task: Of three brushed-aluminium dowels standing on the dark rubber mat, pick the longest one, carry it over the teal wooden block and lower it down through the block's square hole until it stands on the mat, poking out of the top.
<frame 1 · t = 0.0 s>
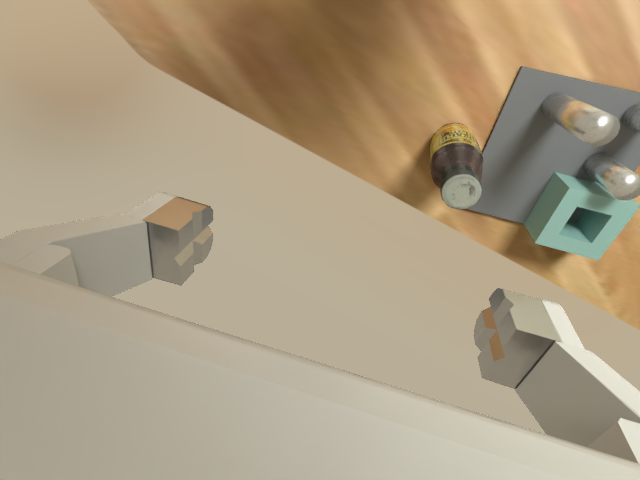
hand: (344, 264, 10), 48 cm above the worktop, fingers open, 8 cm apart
sauce bottle: (450, 141, 53), on the worktop
short pin: (637, 115, 46), point 1 cm above the worktop, touching mat
mat: (555, 160, 51), on the worktop
long pin: (554, 105, 47), point 1 cm above the worktop, touching mat
block: (568, 206, 53), resting on mat
medium pin: (596, 163, 50), point 1 cm above the worktop, touching mat
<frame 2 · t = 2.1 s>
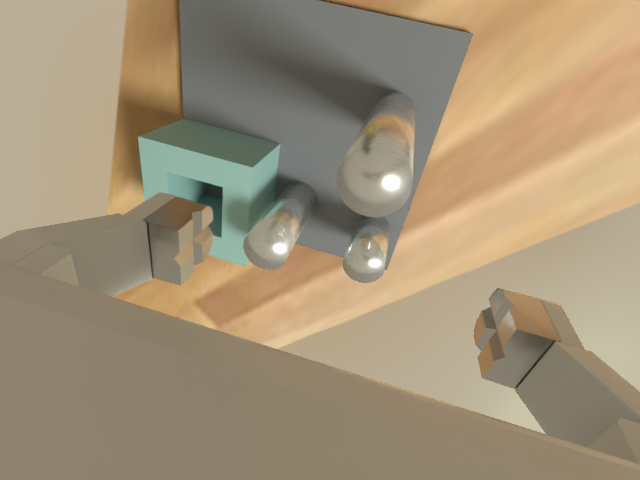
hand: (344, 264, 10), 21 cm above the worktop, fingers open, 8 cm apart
short pin: (372, 228, 32), point 1 cm above the worktop, touching mat
mat: (299, 140, 30), on the worktop
long pin: (393, 114, 27), point 1 cm above the worktop, touching mat
block: (229, 178, 33), resting on mat
medium pin: (300, 198, 32), point 1 cm above the worktop, touching mat
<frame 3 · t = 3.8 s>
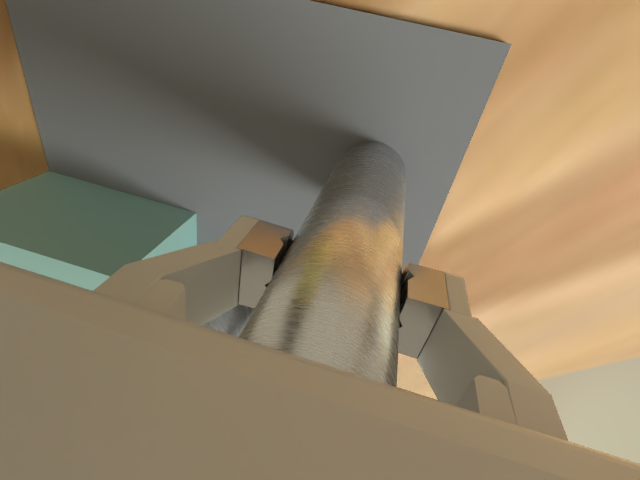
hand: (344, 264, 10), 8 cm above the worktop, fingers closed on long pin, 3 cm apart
mat: (227, 207, 19), on the worktop
long pin: (369, 176, 16), point 1 cm above the worktop, touching gripper, mat
block: (130, 256, 22), resting on mat
medium pin: (235, 287, 21), point 1 cm above the worktop, touching mat
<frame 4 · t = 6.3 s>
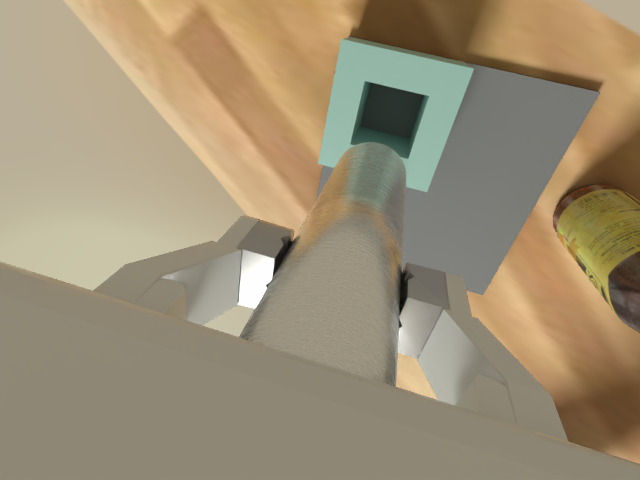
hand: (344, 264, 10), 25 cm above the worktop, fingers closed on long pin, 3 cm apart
sauce bottle: (589, 212, 32), on the worktop
mat: (424, 181, 34), on the worktop
long pin: (369, 177, 16), point 18 cm above the worktop, touching gripper
block: (391, 106, 31), resting on mat
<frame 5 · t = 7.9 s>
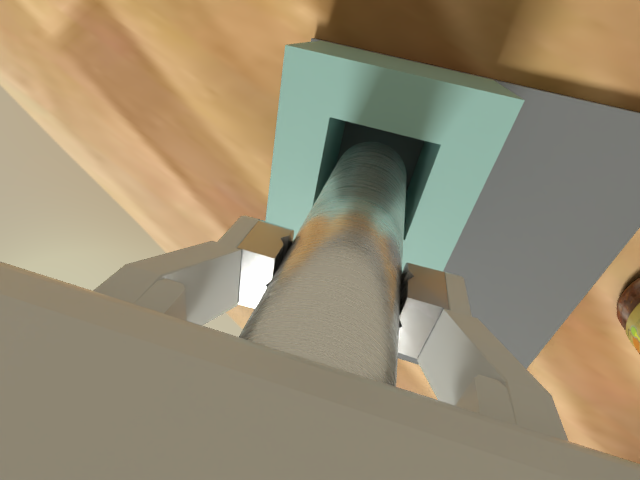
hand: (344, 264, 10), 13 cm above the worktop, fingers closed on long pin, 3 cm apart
mat: (429, 246, 24), on the worktop
long pin: (370, 177, 16), point 6 cm above the worktop, touching gripper
block: (380, 144, 20), resting on mat
when the fingers open (9 cm above the worktop, at t = 9.0 s): long pin stays where it is, resting on mat.
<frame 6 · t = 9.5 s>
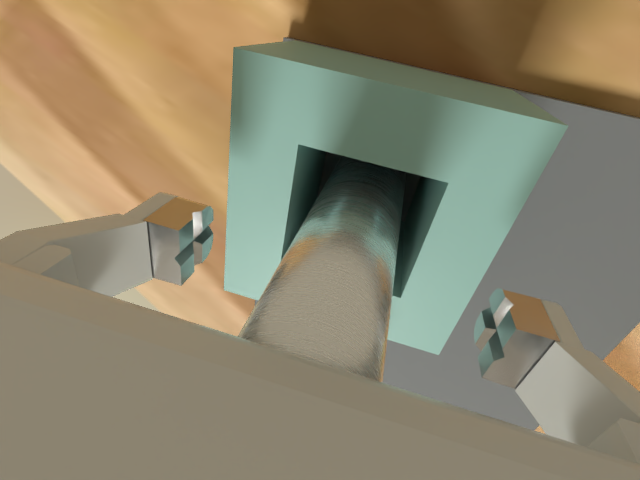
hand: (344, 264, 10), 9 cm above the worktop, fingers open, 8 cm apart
mat: (430, 284, 20), on the worktop
long pin: (371, 170, 17), point 1 cm above the worktop, touching mat
block: (371, 167, 17), resting on mat
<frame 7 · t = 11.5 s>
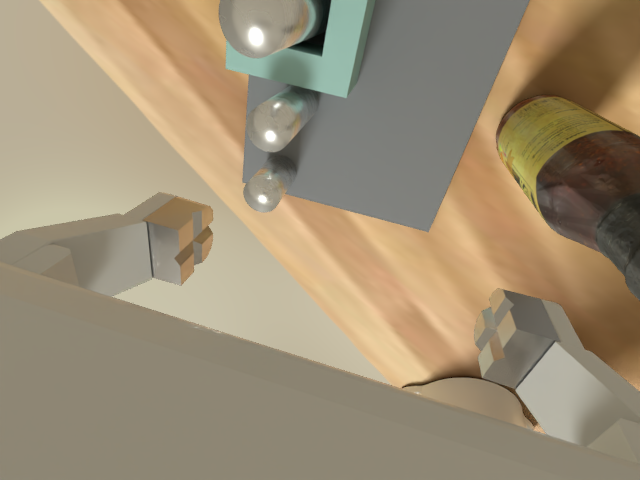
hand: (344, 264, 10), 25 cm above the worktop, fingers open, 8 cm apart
sauce bottle: (535, 131, 30), on the worktop
short pin: (281, 170, 35), point 1 cm above the worktop, touching mat
mat: (358, 101, 31), on the worktop
long pin: (314, 11, 27), point 1 cm above the worktop, touching mat
block: (314, 9, 27), resting on mat
medium pin: (301, 101, 31), point 1 cm above the worktop, touching mat
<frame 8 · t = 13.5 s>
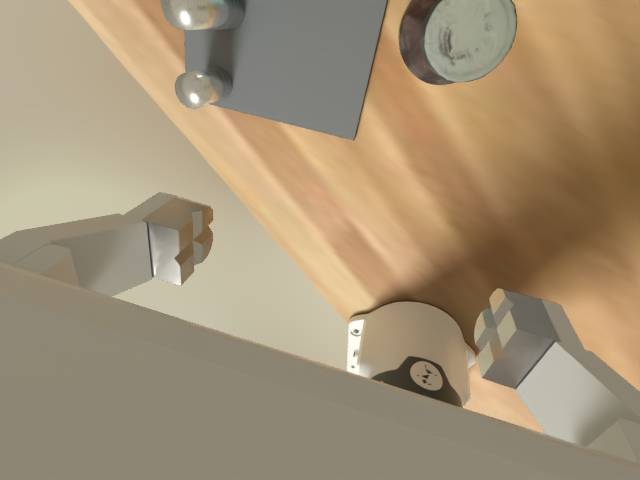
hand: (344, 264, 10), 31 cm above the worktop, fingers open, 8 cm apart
sauce bottle: (435, 30, 33), on the worktop
short pin: (219, 83, 39), point 1 cm above the worktop, touching mat
mat: (280, 9, 34), on the worktop
medium pin: (230, 10, 35), point 1 cm above the worktop, touching mat
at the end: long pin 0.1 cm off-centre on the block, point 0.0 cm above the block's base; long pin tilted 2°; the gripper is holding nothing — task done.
